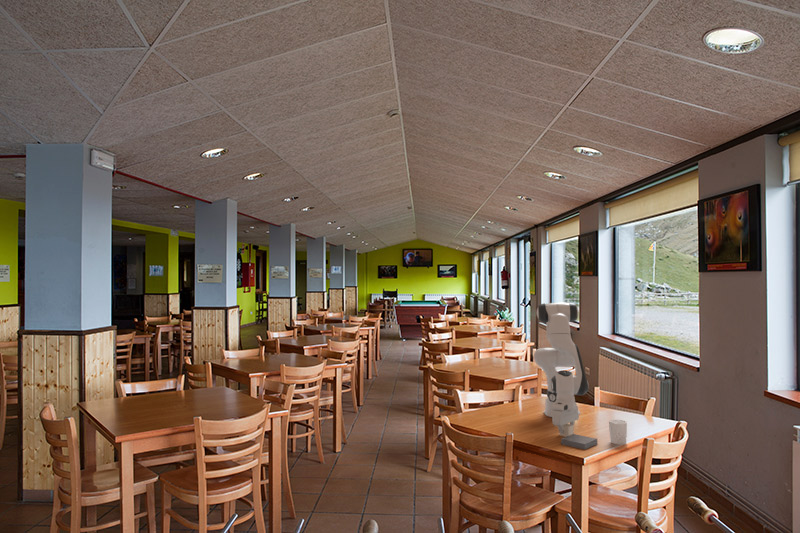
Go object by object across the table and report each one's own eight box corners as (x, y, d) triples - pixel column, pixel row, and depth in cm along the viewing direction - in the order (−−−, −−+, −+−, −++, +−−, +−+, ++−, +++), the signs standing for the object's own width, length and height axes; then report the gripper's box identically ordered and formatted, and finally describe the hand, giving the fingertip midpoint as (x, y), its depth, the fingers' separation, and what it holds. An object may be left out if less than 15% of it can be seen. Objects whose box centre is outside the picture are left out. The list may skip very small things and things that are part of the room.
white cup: (622, 440, 248) (622, 419, 248) (630, 445, 240) (629, 423, 241) (606, 440, 248) (606, 419, 248) (614, 445, 240) (613, 423, 240)
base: (573, 439, 251) (573, 433, 251) (597, 444, 242) (597, 438, 242) (561, 444, 243) (560, 438, 243) (585, 449, 234) (584, 444, 234)
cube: (564, 433, 261) (564, 423, 262) (573, 435, 258) (573, 425, 258) (559, 435, 258) (559, 425, 258) (568, 437, 254) (568, 427, 255)
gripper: (570, 399, 268) (571, 426, 267) (549, 406, 254) (550, 434, 253) (581, 401, 263) (582, 429, 263) (561, 408, 249) (561, 437, 249)
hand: (566, 431), depth 258 cm, fingers open, 8 cm apart
